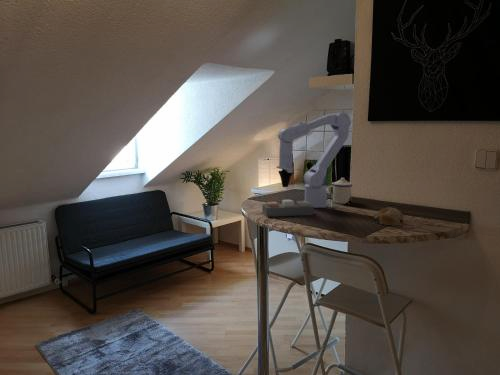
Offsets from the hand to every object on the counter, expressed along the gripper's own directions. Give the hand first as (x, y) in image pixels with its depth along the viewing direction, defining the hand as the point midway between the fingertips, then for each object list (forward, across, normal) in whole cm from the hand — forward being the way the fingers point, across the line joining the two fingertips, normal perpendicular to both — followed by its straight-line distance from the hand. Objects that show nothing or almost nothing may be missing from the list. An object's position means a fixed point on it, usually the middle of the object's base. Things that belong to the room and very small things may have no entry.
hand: (285, 186), depth 183 cm
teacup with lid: (+9, -8, +29) cm, 32 cm away
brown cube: (+8, +11, -9) cm, 16 cm away
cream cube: (+7, +11, -2) cm, 14 cm away
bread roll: (+10, +33, +32) cm, 47 cm away
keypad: (+9, +12, -2) cm, 15 cm away
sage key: (+8, +12, +4) cm, 15 cm away
